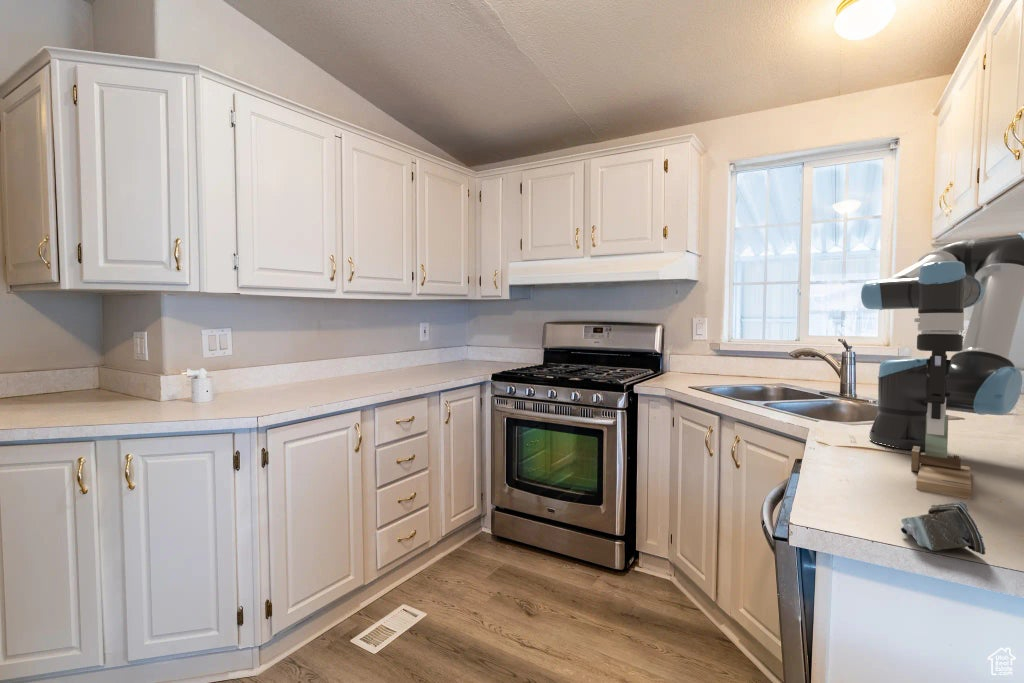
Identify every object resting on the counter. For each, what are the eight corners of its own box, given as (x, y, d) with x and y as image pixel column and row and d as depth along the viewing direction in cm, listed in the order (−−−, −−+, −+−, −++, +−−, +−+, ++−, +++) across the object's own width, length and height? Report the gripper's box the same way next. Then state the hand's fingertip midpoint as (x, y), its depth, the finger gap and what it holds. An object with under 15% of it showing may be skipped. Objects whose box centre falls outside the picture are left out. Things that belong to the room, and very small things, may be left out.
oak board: (921, 468, 111) (921, 459, 111) (969, 475, 106) (969, 466, 106) (916, 490, 96) (916, 480, 96) (971, 500, 91) (971, 489, 91)
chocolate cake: (882, 517, 82) (895, 489, 73) (929, 509, 80) (948, 479, 72) (917, 577, 75) (936, 554, 67) (970, 569, 73) (995, 544, 65)
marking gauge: (913, 464, 111) (914, 411, 111) (960, 471, 106) (961, 415, 105) (911, 470, 107) (912, 414, 106) (960, 478, 101) (962, 419, 101)
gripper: (920, 333, 117) (917, 419, 118) (913, 332, 99) (910, 435, 99) (962, 333, 112) (959, 424, 113) (963, 333, 94) (959, 441, 94)
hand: (936, 429), depth 106 cm, fingers open, 13 cm apart
